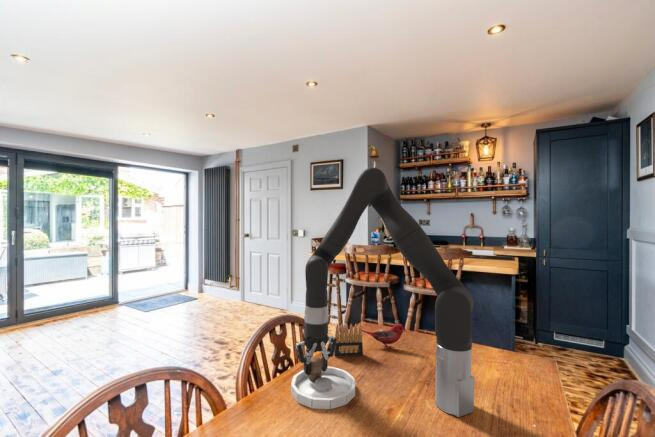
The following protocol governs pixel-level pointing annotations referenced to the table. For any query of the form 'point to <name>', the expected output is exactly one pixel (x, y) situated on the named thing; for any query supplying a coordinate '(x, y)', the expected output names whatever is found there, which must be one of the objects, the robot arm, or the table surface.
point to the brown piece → (315, 369)
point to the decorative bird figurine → (388, 334)
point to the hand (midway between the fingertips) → (315, 372)
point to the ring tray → (324, 389)
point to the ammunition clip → (348, 341)
